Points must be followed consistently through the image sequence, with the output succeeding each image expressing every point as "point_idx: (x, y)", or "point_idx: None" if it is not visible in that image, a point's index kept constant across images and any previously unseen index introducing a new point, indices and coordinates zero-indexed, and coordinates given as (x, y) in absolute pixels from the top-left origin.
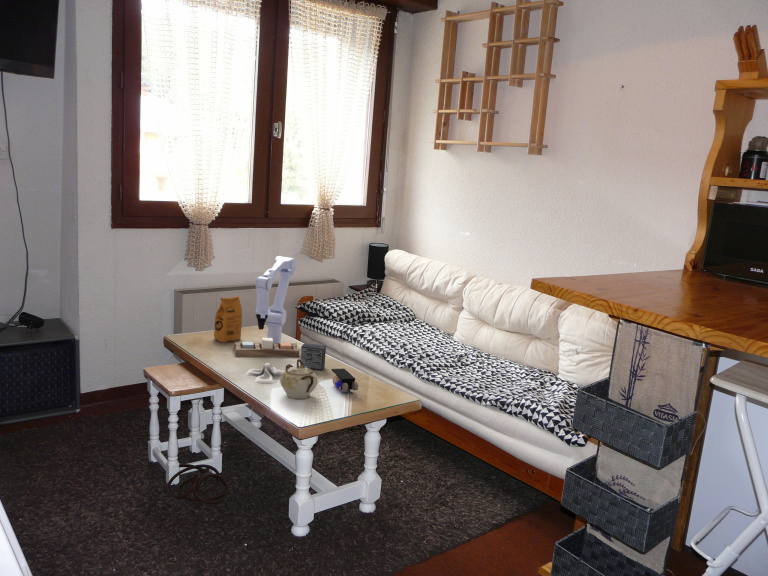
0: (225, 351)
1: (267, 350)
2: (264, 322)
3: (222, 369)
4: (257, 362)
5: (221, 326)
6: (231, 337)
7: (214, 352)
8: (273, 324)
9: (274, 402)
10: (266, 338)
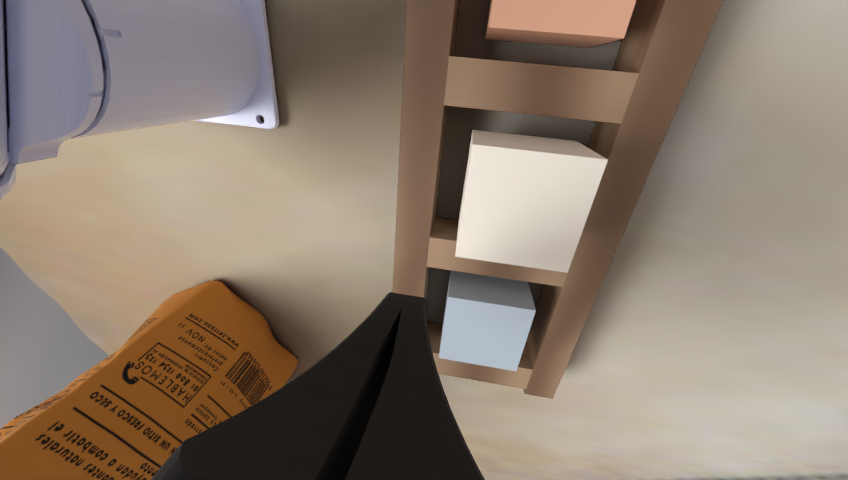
0: (457, 385)
1: (633, 204)
2: (440, 390)
3: (768, 454)
4: (739, 283)
5: None
6: (264, 349)
7: (469, 423)
8: (46, 61)
9: None
10: (487, 215)
